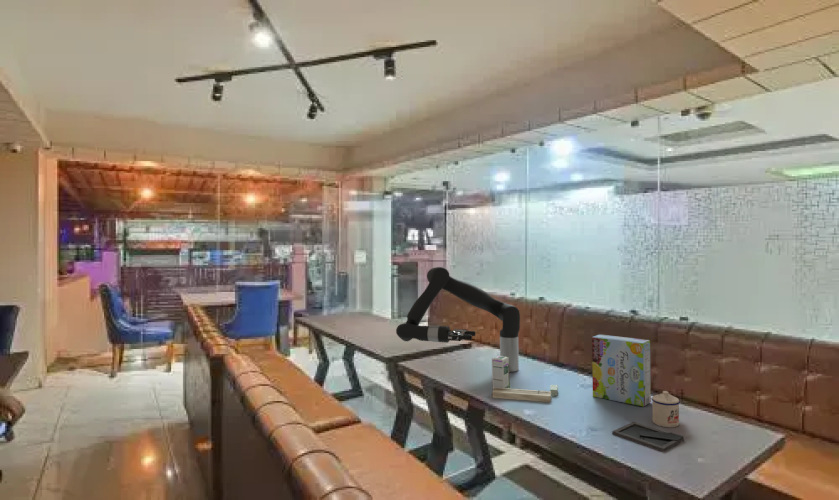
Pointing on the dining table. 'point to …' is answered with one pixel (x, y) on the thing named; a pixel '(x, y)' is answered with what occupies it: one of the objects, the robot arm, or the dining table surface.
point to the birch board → (522, 394)
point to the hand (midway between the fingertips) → (473, 335)
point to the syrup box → (500, 372)
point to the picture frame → (648, 436)
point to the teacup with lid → (665, 410)
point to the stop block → (554, 390)
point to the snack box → (621, 369)
